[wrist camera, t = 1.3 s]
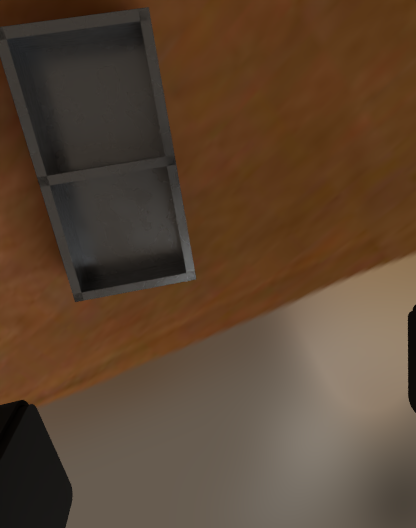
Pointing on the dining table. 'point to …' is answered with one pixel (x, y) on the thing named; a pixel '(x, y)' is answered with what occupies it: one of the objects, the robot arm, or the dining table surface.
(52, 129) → the divided tray
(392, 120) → the dining table surface
